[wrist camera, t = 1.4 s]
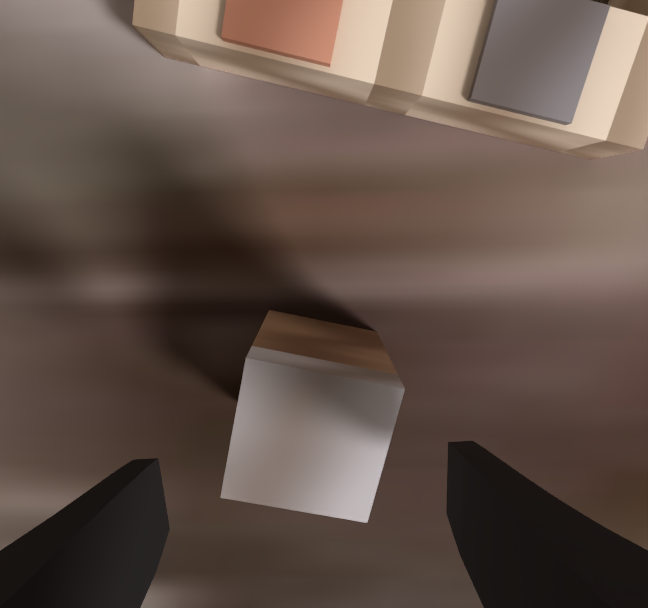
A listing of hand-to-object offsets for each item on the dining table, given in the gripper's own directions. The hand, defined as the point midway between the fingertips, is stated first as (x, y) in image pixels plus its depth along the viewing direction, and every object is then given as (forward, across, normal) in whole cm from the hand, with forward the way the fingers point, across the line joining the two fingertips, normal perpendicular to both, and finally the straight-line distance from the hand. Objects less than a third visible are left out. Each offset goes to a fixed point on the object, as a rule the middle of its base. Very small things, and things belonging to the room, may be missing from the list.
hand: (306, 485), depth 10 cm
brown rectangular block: (+7, 0, 0) cm, 7 cm away
